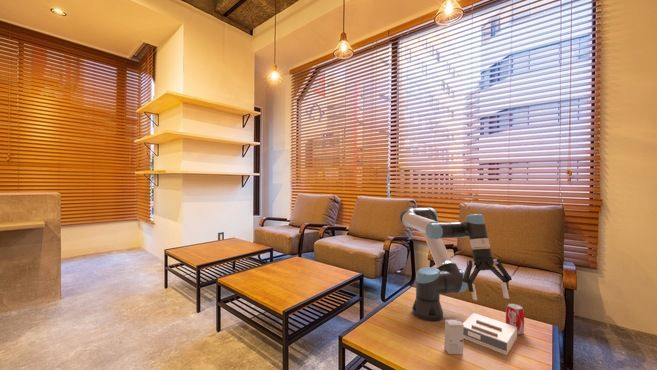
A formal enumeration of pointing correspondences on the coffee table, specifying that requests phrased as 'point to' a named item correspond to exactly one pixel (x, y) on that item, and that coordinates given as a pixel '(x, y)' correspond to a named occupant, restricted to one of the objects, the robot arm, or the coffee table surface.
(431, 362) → the coffee table surface
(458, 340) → the skincare box
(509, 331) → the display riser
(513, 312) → the soda can
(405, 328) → the coffee table surface
